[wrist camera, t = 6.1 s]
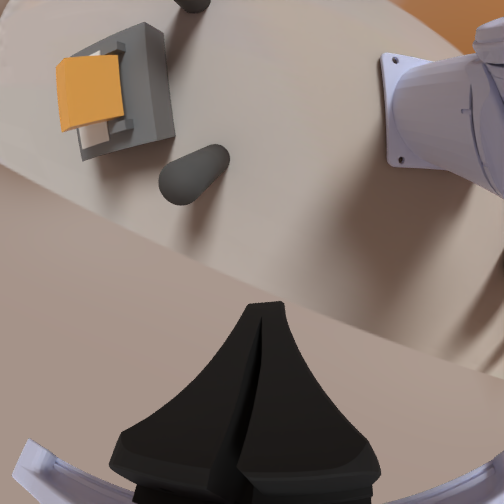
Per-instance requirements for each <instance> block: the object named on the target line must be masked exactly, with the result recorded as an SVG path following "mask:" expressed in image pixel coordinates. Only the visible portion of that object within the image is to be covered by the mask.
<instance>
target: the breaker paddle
mask: <svg viewBox="0 0 504 504" xmlns="http://www.w3.org/2000/svg"><path fill="white" fill-rule="evenodd" d="M56 81H57V95H58V106H59V115H60V123H61V130H62V132H65V131H69V130H72V129H76V128H80V127H84V126H88V125H92V124H96V123H101V122H105V121H110V120H114V119H116V118H119V117H121V116H124V111H123V103H122V95H121V86H120V76H119V64H118V55H96V56H80V57H70V58H64V59H63V60H62V61H61V62H60V63H59V64H58V65H57V66H56Z"/></svg>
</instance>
